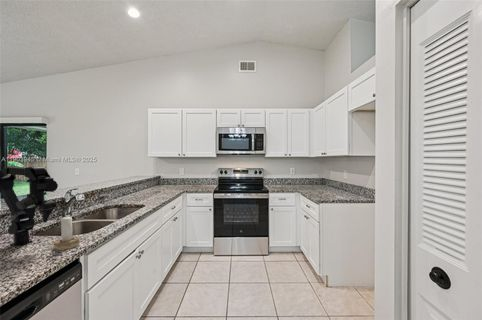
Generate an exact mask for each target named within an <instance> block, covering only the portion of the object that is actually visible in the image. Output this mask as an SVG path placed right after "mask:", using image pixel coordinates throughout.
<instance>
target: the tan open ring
mask: <svg viewBox="0 0 482 320" xmlns="http://www.w3.org/2000/svg"><path fill="white" fill-rule="evenodd" d="M72 237H73V240H72V241H68V242H62V237H61V238H59V239H55V240H54V242H53V243H54V244H53V248H54V249H53V250H59V251H60V250H61V251H62V250H67V249H72V248H76V247H78V246H79V245H80V236H73V235H72Z"/></svg>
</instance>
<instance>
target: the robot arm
mask: <svg viewBox="0 0 482 320" xmlns="http://www.w3.org/2000/svg"><path fill="white" fill-rule="evenodd" d="M17 176H24V177H25V178H27V180H26V183H29V184H28V185H29V188H28V189H29V193H27V194H26V197H24V198H22V199H20V200H19V198H18V196H17V194H16V192H15V190H14V186H15V180H16V179H17ZM58 187H59V184H58V182H57V181H55V180H54V177H51V175H50V174H49V172H48V170H47V169H46V167H45V166H43V165H42V166H27V167H20V166H19V167H18V166H17V167H16V166H4V167H3V168H1V170H0V194H1V197H2V199H3V200H4V202H5V204H6V206H7V208H8V211H9V213H10V214H11V216H12V218H11V221H10V223H11V225H10V226H9V228H8V229H7V232H8V235H12V237H13V242H12V243H10V246H14V247H15V246H18V247H21V246H24V245H26V244H29V243H33V240H30V231H33V230H34V226H35V223H36V221H35V214H36V210H37V209H36V208H39V210H38V211H39V212H40V213H41V215H42V222H43V224H44V223H47V221H48V219H49V218H50V216H51V214H52V213H53V210H55V209H56V208H58V203H57V202H56V201H47V200H45V196H46V195H47V193H53V192H55V191H56V190H57V189H58Z"/></svg>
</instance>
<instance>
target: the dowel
mask: <svg viewBox="0 0 482 320" xmlns="http://www.w3.org/2000/svg"><path fill="white" fill-rule="evenodd" d="M60 225H61V227H60V230H61V233H60V234H61V238H62V242H68V241H72V240H73V237H72V236H73V218H72V217H71V216H68V217H62V218H60Z"/></svg>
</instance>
